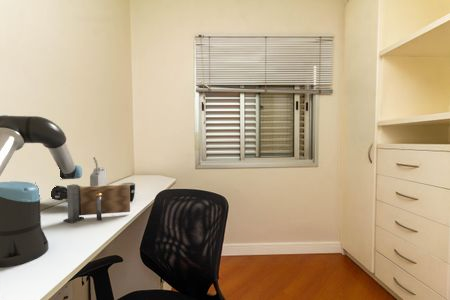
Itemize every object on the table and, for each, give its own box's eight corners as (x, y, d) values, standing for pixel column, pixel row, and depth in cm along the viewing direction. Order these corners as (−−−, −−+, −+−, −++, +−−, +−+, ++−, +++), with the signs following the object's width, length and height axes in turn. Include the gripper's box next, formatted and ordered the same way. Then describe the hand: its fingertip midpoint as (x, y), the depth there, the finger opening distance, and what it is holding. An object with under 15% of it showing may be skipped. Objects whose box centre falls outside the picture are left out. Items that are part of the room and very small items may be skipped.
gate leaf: (76, 215, 111) (75, 186, 110) (77, 214, 113) (76, 185, 112) (129, 212, 117) (129, 184, 116) (130, 210, 119) (129, 183, 118)
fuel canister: (97, 199, 145) (96, 157, 143) (88, 199, 145) (87, 157, 143) (107, 193, 160) (106, 155, 159) (99, 193, 160) (98, 155, 158)
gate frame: (87, 225, 104) (86, 188, 103) (63, 221, 108) (62, 185, 107) (103, 219, 112) (102, 184, 110) (79, 215, 116) (78, 182, 115)
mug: (132, 203, 137) (132, 185, 137) (116, 203, 136) (115, 185, 136) (138, 197, 149) (138, 181, 149) (123, 198, 148) (122, 181, 148)
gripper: (68, 196, 139) (100, 200, 131) (44, 202, 127) (78, 207, 119) (67, 183, 139) (100, 186, 131) (44, 188, 126) (78, 192, 119)
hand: (89, 196), depth 125 cm, fingers closed
